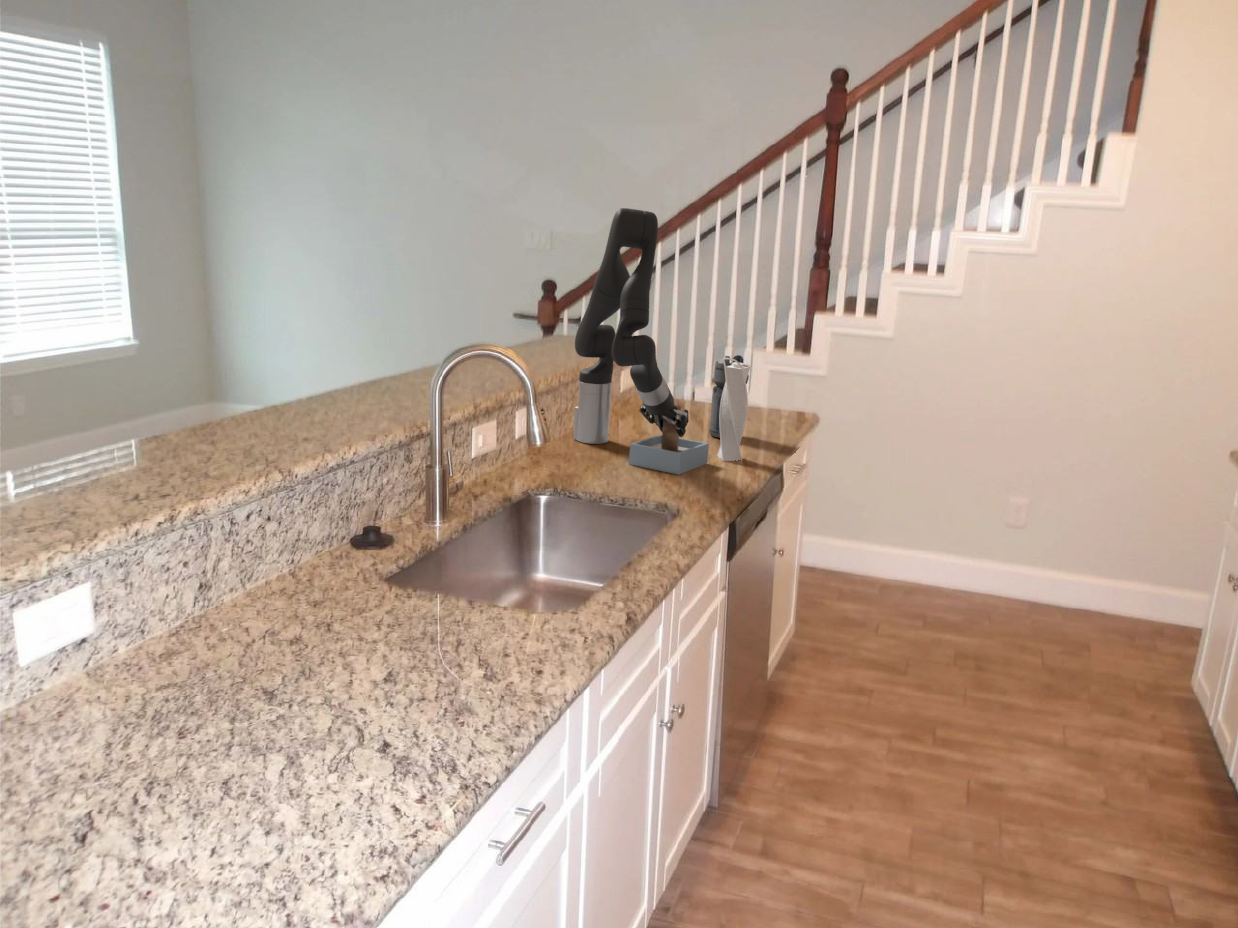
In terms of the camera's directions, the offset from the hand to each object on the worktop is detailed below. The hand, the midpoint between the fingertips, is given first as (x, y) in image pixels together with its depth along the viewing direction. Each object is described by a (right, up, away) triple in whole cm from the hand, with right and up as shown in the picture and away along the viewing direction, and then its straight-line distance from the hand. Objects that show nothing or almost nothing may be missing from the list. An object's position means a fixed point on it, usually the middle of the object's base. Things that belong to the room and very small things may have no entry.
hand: (674, 432), depth 258 cm
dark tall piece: (+18, 0, +38) cm, 42 cm away
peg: (-1, -7, 0) cm, 7 cm away
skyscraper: (+16, -7, +10) cm, 20 cm away
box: (-1, -8, +1) cm, 8 cm away
